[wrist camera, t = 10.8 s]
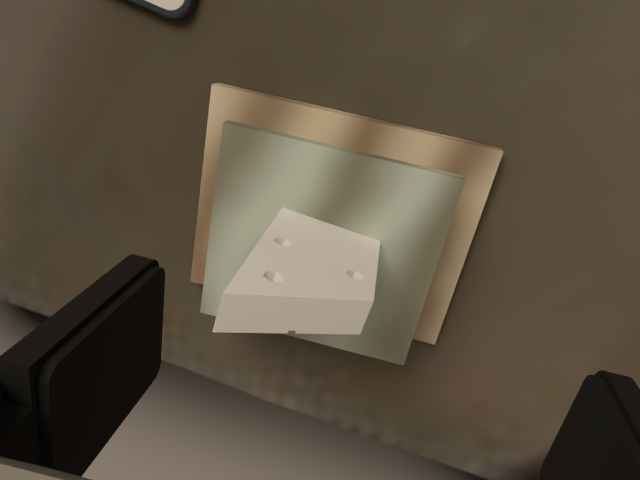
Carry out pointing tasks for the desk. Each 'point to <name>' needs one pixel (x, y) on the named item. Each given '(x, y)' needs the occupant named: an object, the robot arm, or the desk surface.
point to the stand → (342, 204)
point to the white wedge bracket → (302, 280)
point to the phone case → (168, 7)
